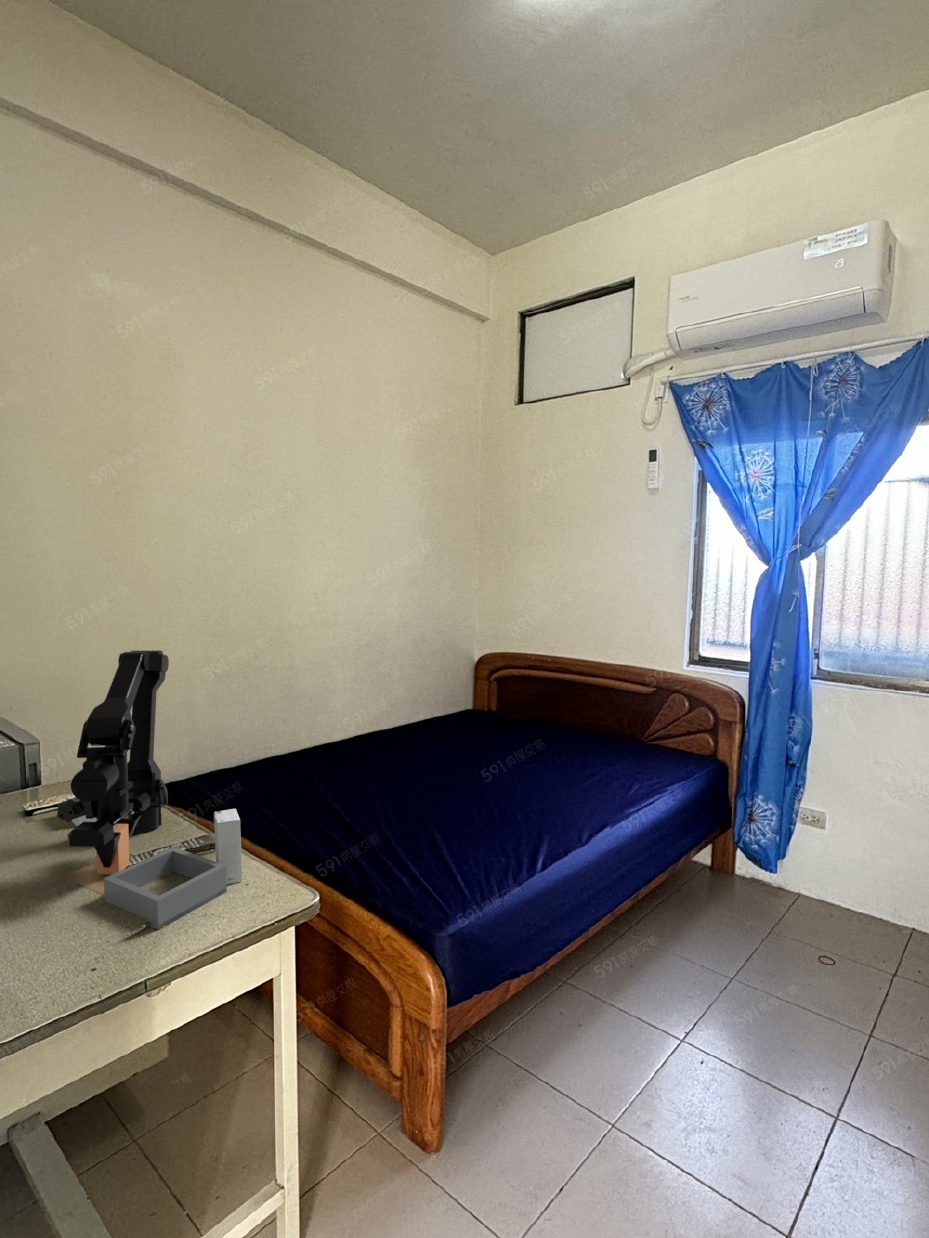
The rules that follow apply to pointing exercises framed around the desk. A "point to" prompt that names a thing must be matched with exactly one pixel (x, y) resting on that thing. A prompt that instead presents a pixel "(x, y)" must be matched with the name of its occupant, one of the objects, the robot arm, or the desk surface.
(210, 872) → the bin
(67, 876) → the stud base
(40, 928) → the desk surface
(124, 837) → the tan wooden brick
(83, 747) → the robot arm
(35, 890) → the desk surface
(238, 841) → the skincare box
